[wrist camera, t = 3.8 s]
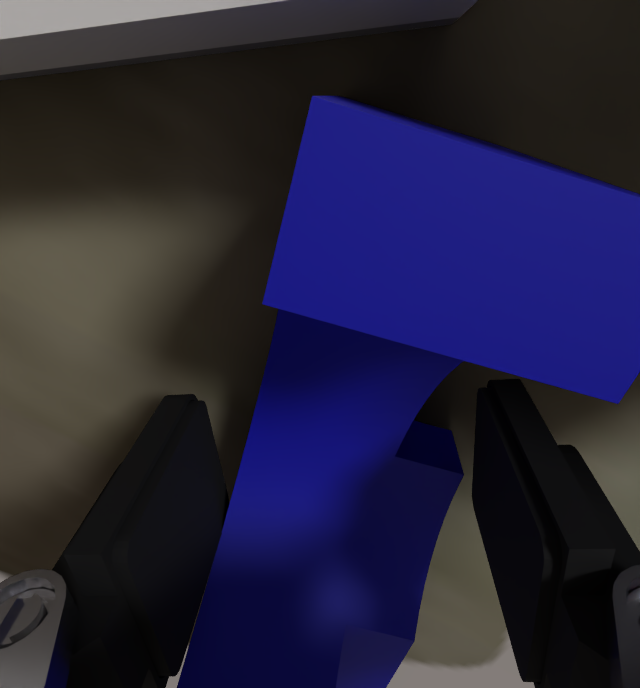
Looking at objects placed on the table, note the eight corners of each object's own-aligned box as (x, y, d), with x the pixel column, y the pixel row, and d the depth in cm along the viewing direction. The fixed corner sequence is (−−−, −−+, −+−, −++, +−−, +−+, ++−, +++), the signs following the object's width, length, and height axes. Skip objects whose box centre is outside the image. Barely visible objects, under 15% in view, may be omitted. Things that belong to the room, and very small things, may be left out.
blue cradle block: (370, 591, 14) (380, 891, 9) (219, 554, 14) (133, 840, 9) (581, 170, 9) (931, 288, 3) (339, 95, 8) (312, 95, 3)
